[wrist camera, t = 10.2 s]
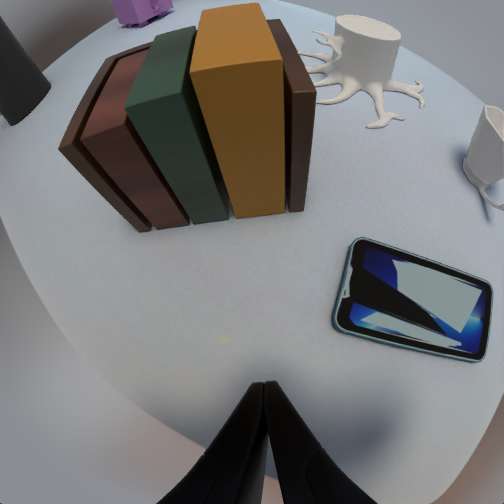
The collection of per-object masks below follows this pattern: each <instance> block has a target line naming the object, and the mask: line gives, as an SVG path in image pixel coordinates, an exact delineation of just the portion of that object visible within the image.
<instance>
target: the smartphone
mask: <svg viewBox="0 0 504 504" xmlns="http://www.w3.org/2000/svg"><path fill="white" fill-rule="evenodd" d="M492 305H493V289H492V286H491V284H490V283H489V282H488V281H486V280H484V279H481V278H479V277H476V276H473V275H471V274H468V273H466V272H463V271H460V270H458V269H455V268H452V267H450V266H447V265H444V264H442V263H439V262H436V261H433V260H431V259H428V258H425V257H422V256H419V255H416V254H413V253H411V252H408V251H405V250H402V249H399V248H396V247H393V246H390V245H387V244H384V243H381V242H378V241H375V240H371V239H368V238H365V237H360V238H357V239H355V240H354V241H353V243H352V244H351V246H350V248H349V252H348V256H347V261H346V265H345V269H344V273H343V278H342V282H341V286H340V290H339V294H338V297H337V301H336V305H335V309H334V312H333V316H332V321H333V325H334V326H335V328H336V329H337V330H338V331H340V332H342V333H346V334H349V335H353V336H357V337H361V338H364V339H368V340H372V341H376V342H379V343H383V344H387V345H392V346H395V347H399V348H405V349H409V350H413V351H418V352H422V353H427V354H431V355H436V356H441V357H446V358H451V359H456V360H461V361H466V362H472V363H478V362H481V361H482V360H483V359H484V357H485V355H486V352H487V346H488V340H489V333H490V325H491V316H492Z"/></svg>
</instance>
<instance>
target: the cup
mask: <svg viewBox="0 0 504 504" xmlns="http://www.w3.org/2000/svg"><path fill="white" fill-rule="evenodd" d="M463 170H464V172H465V174H466V176H467V177H468V179H469V181H470V182H471V183H473V184H474V185H475V186H477V187H478V189H479V193H480V194H481V195H482V197H483V198H484V199H485V200H486V201H487V202H488V203H489V204H490V205H491V206H493V207H495V208H497V209H500V210H503V211H504V204H503V205H500V206H498V205H497V204H496V203H494V202H493V201H492V200H491V199H490V198H489V197H488V195H487V194H486V193H485V190H484V189H485V188H489V187H490V184H491V183H495V182H497V181H499V180H501V179H502V178H504V112H503V111H502V110H501V109H500V108H498V107H495V106H489V105H484V108H483V110H482V113H481V116H480V119H479V122H478V124H477V127H476V129H475V132H474V134H473V136H472V139H471V142H470V146H469V149H468V152H467V158H464V160H463Z"/></svg>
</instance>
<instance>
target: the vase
mask: <svg viewBox="0 0 504 504" xmlns="http://www.w3.org/2000/svg"><path fill="white" fill-rule="evenodd" d="M50 88H51V84H50V83H49V81H48V80H47V79H46V77H45V76H44V75H43V74H42V72H41V71H40V70H39V68H38V67H37V66H36V64H35V63H34V62H33V61H32V59H31V58H30V57H29V55H28V54H27V53H26V51H25V50H24V49H23V48H22V46H21V45H20V43H19V42H18V41H17V39H16V38H15V36H14V35H13V34H12V32H11V31H10V29H9V28H8V26H7V25H6V24H5V22H4V21H3V19H2V18H1V17H0V112H1V113H2V115H3V116H4V118H5V119H6V120H7V122H8V123H9V124H10V125H15V124H17V123H18V122H20V121H21V120H22V119H24V118H25V117H26V116H27V115H28V114H29V113H30V112H31V111H32V110H33V109H34V108H35V107H36V106H37V105H38V104H39V103H40V102H41V101H42V99H43V98H44V97H45V96H46V94H47V93H48V91H49V90H50Z"/></svg>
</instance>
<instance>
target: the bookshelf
mask: <svg viewBox="0 0 504 504" xmlns="http://www.w3.org/2000/svg"><path fill="white" fill-rule="evenodd" d="M266 21H267V23H268V25H269V27H270V30H271V32H272V34H273V37H274V39H275V42H276V44H277V47H278V49H279V52H280V54H281V57H282V59H283V83H284V124H285V188H286V194H287V200H288V206H289V211H290V212H297V211H304V205H305V197H306V190H307V182H308V174H309V165H310V156H311V147H312V138H313V128H314V117H315V106H316V94H317V91H316V89H315V87H314V85H313V82H312V80H311V78H310V76H309V74H308V72H307V70H306V68H305V65H304V63H303V61H302V59H301V57H300V55H299V53H298V51H297V50H296V48H295V46H294V44H293V42H292V40H291V38H290V36H289V34H288V33H287V31H286V29H285V27H284V25H283V24H282V22H281V20H280V19H273V20H266ZM197 31H198V30H196V26H191V27H187V28H183V29H179V30H175V31H171V32H167V33H164V34H160V35H157V36H156V37H155V39H154V41H153V42H149V43H146V44H143V45H140V46H137V47H134V48H132V49H129V50H126V51H124V52H121V53H118V54H116V55H113V56H111V57H109V58H106V60H105V61H104V63H103V64H102V66H101V67H100V69H99V71H98V72H97V74H96V75H95V77H94V79H93V80H92V82H91V84H90V85H89V87H88V89H87V91H86V92H85V94H84V96H83V98H82V100H81V102H80V103H79V105H78V107H77V109H76V111H75V113H74V115H73V117H72V119H71V121H70V123H69V125H68V128H67V130H66V132H65V134H64V136H63V139H62V141H61V143H60V146H59V148H58V150H59V151H60V152H61V153H62V154H63V155H64V156H65V157H66V159H67V160H68V161H69V162H70V163H71V164H72V165H73V166H74V167H75V168H76V169H77V170H78V171H79V173H80V174H81V175H82V176H83V177H84V178H85V179H86V180H87V181H88V182H89V183H90V184H91V185H92V186H93V187H94V188H95V189H96V190H97V191H98V192H99V193H100V194H101V195H102V196H103V197H104V198H105V199H106V200H107V201H108V202H109V203H110V204H111V205H112V206H113V207H114V208H115V209H116V210H117V211H118V212H119V213H120V214H121V215H122V216H123V217H124V218H125V219H126V220H127V221H128V222H129V223H130V224H131V225H132V226H133V227H134V228H135V229H136V230H137V231H138V232H145V231H151V223H152V224H153V226H154V227H155V228H156V229H157V230H159V229H165V228H172V227H178V226H185V225H189V217H190V219H191V220H192V222H193V223H194V224H199V223H206V222H213V221H221V220H228V219H229V216H228V197H227V188H226V185H225V182H224V179H223V176H222V173H221V170H220V167H219V164H218V161H217V157H216V154H215V151H214V148H213V145H212V142H211V139H210V136H209V133H208V130H207V126H206V123H205V120H204V117H203V114H202V111H201V108H200V105H199V101H198V98H197V95H196V92H195V89H194V86H193V83H192V79H191V76H190V73H189V72H190V66H191V61H192V55H193V50H194V45H195V40H196V35H197Z"/></svg>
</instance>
